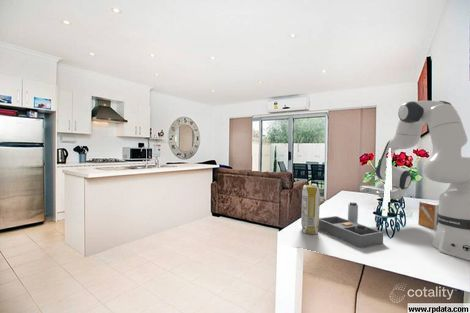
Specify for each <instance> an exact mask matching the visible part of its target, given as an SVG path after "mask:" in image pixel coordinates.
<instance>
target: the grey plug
mask: <svg viewBox="0 0 470 313" xmlns="http://www.w3.org/2000/svg"><path fill="white" fill-rule="evenodd" d="M347 206H348V208H347V220H349V221H352V222H355V223H359V222H358V219H359V205H358V203H356V202H352V201H351V202H350V201H349V203H348V204H347Z"/></svg>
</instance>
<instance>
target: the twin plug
mask: <svg viewBox="0 0 470 313" xmlns="http://www.w3.org/2000/svg"><path fill="white" fill-rule="evenodd" d="M365 226H366V225H364V226H363V224H361V225H357V226H356V227H355V233H357V234H359V235H364V234H367V228H366V227H365Z"/></svg>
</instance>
